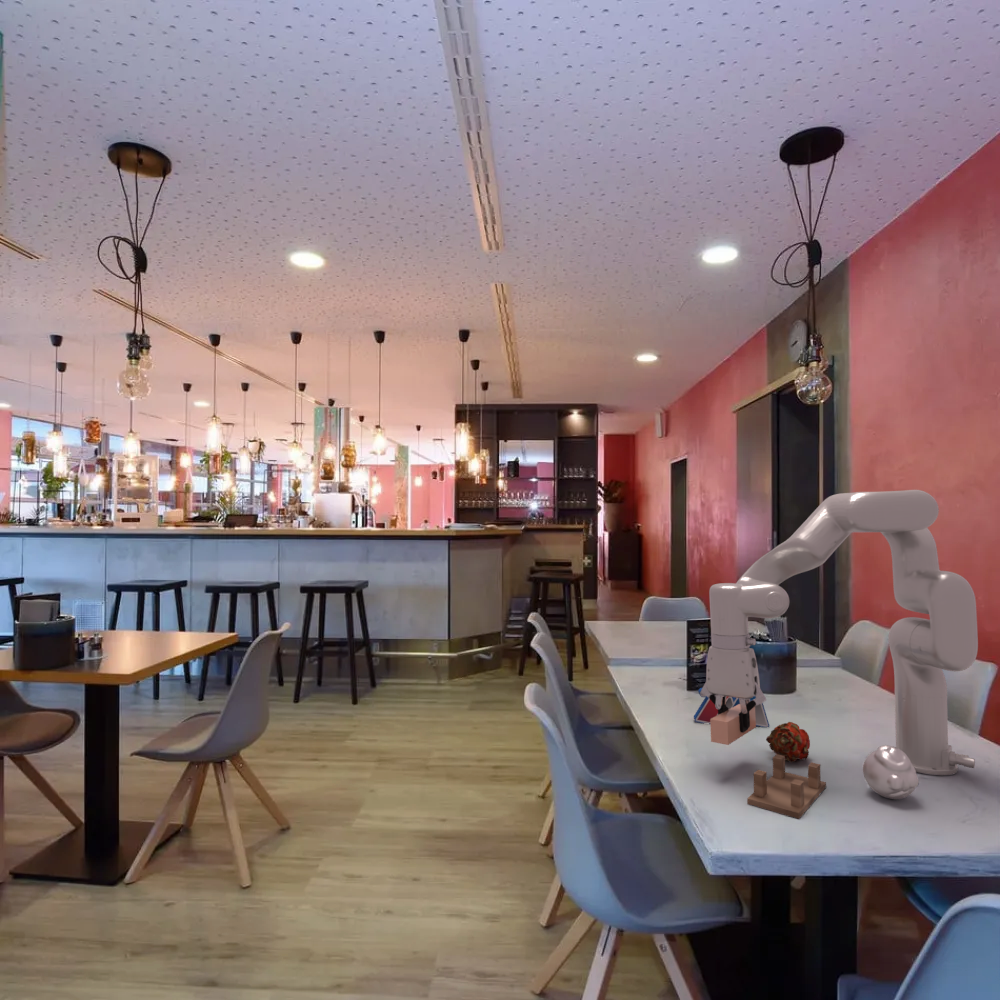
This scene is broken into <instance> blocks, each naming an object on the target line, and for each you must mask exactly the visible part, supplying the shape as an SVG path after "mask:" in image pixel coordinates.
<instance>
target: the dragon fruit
mask: <svg viewBox="0 0 1000 1000" xmlns="http://www.w3.org/2000/svg"><path fill="white" fill-rule="evenodd" d="M765 741H766V742H767V743H769V745H768V746H769V749H770V750H771V751H773V753H775V755H776V754H778V755H782V756H785V761H788V762H789V761H790V763H794V762H796V761H797V760H798V759H799V760H805V761H806V760H807V759H808V758H809V753H810V752H809V749H810V747H811V739H810V736H809V734H808V732H807V731H806V730H805V729H804V728H800V726H799V725H798V724H797V723H794V722H793V721H788V722H787V723H786V722H785V723H781V724H779V725H777V726H776V727H774V728H773V729H772V730H771V731H770V734H769V735H768V736H767V737H766V739H765Z"/></svg>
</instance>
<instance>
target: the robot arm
mask: <svg viewBox="0 0 1000 1000" xmlns="http://www.w3.org/2000/svg"><path fill="white" fill-rule="evenodd" d="M939 508H940V507H939V504H938V502H937V500H936V499H935V497H933V496H932V495H931V494H930V493H929V492H926V491H924V490H920V489H905V490H888V491H886V490H885V491H856V492H844V493H843V492H842V493H837V494H833V495H830V496H828V497H826V498H825V499H824V500H822V502H821V503H820V504H819V505H818V507H816V509H814V510H813V512H812V513H811V514H810V515H809V516H808V517H807V519H806V520H805V521H803V523H802V524H801V525H800V526H799V527H798V528H797V529H796V530H795V531H794V532H793V534H792V535H791V536H790V537H788V538H787V539H786V540H785V541H783V542H782V543H780V544H778V545H777V546H775V547H774V548H772V550H770V551H768V552H767V553H765V554H764V555H762V556H761V557H759V559H757V560H755V562H754V563H753V564H751V566H749V568H748V569H746V571H744V573H743V574H742V575H741V576H740V577H739V579H737V582H735V583H734V582H733V583H732V582H724V583H720V582H719V583H716V584H712V585H711V586H710V587H709V592H708V593H709V614H710V615H709V616H710V636H711V645H710V646H709V647H708V650H707V652H708V653H707V659H706V671H705V672H706V677H705V678H706V680H705V683H704V684H703V686H702V687H701V688H702V690H701V692H702V693H703V694H704V695H705V696H707V697H709V698H710V700H711V701H712V702H713V703H714V704H715V707H716V708H717V709H718V715H719V714H721V713H723V712H725V711H727V710H728V707H726V696H729V697H736V698H739V701H740V707H741V712H740V713H739V721H740V732H742V733H744V732H745V731H746V730H748V728H749V727H750V714H749V711H750V710H751V709H752V708H754V707H755V706H756V705H759V704H761V703H763V704H764V703H765V702H766V701H767V698H766V696H765V694H764V692H763V691H762V689H761V685H760V682H761V681H760V673H759V668H758V667H759V666H758V661H757V657H756V653H755V650H754V648H750V647H751V646H755V645H756V643H757V642H756V641H757V640H756V638H752V637H750V636H751V635H750V633H749V618H759V619H760V618H761V619H775V618H778V617H781V616H783V615H784V614H785V613H786V612H787V610H788V608H789V607H790V597H789V594H788V593H787V591H786V590H785V589H784V588H783V587H782V586H780V585H781V583H783V582H784V581H786V580H788V579H789V578H791V577H793V576H796V575H799V574H801V573H806V572H808V571H811V570H815V569H816V568H818V567H820V566H822V565H823V564H825V563H826V561H827V560H828V559H829V558H830V557H831V556H832V555H833V553H834V552H835V551H836V550H837V549H838V548H839V547H840V546H841V545H842V544H843V543H844V542H845V540H846V539H847V538H848V537H849V536H850V535H851V534H852V533H881V534H882V536H883V537H884V538H885V540H886V541H887V543H888V545H889V549H890V551H891V552H890V553H891V560H892V561H891V562H892V563H891V564H892V584H893V594H894V595H893V596H894V600H895V601H896V604H898V605H899V606H900V607H901V608H903V609H905V610H907V611H911V612H915V613H919V614H926V615H929V619H927V618H923V617H915V616H913V617H912V616H911V617H909V616H908V617H903V618H901V619H898V620H897V621H895V622H894V623H893V624H892V625H891V627H890V629H889V632H888V639H887V640H888V645H889V652H890V654H891V658H892V667H893V673H894V674H893V676H894V716H895V717H894V719H895V721H894V723H895V747H897V748H899V749H900V750H902V751H903V752H904V753H905V754H906V755H907V756H908V758H909V759H910V761H911V763H912V765H913V766H914V768H915V771H916V773H920V774H925V775H933V776H951V775H954V774H957V773H958V772H959V771H958V770H959V767H958V766H962V767H965V768H971V769H975V768H976V767H975V766H976V761H975V760H976V759H975V758H972V757H969V755H968V754H967V755H966V754H963V753H961V754H960V753H956V752H955V751H953V749H952V745H950V744H949V730H948V729H949V726H948V725H949V724H948V723H949V722H948V687H947V686H948V685H947V680H946V676H945V674H944V671H949V672H962V671H965V670H968V669H969V668H970V667H971V666H972V665H973V663H974V662H975V661H976V658H977V655H978V649H979V639H978V635H979V634H978V617H977V616H978V615H977V600H976V594H975V593H974V589H973V588H972V586H971V584H970V583H969V582H968V580H967V579H966V578H964V577H963V576H962V575H960V574H958V573H956V572H953V571H948V570H947V571H946V570H940V564H939V556H938V549H937V543H936V540H935V538H934V536H933V534H932V532H931V530H930V529H929V527H931V526H932V525H933V524H934V523H935V522H936V520H937V519H938V517H939V512H940V511H939V510H940V509H939ZM943 670H944V671H943ZM754 695H755V696H756V699H753V700H752V701H750V698H753V696H754Z"/></svg>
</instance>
